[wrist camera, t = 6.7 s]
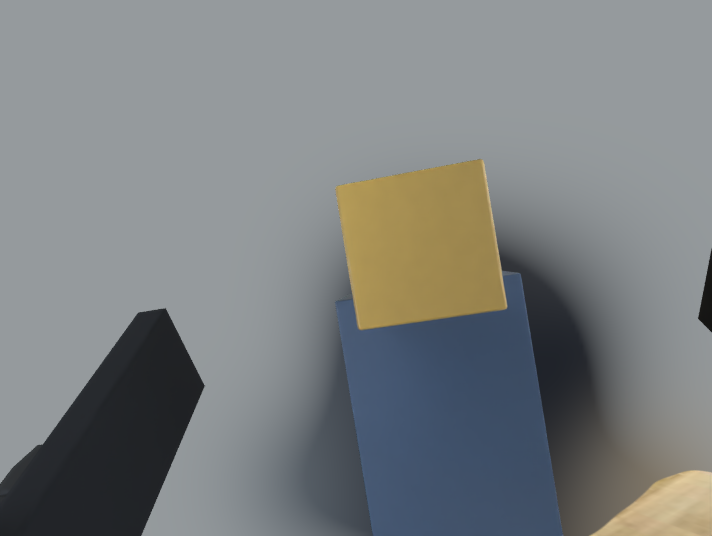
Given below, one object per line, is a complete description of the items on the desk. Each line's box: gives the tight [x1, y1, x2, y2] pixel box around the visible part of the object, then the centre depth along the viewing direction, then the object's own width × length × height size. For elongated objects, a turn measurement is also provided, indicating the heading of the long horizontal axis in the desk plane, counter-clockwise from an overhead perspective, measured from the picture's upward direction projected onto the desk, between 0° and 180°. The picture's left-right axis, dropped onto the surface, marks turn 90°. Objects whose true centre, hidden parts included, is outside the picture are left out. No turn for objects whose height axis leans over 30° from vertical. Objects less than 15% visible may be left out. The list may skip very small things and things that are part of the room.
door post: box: [335, 271, 563, 536], centre depth 26 cm, size 12×8×32 cm, turn 172°
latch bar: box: [335, 159, 507, 330], centre depth 22 cm, size 26×3×3 cm, turn 172°
